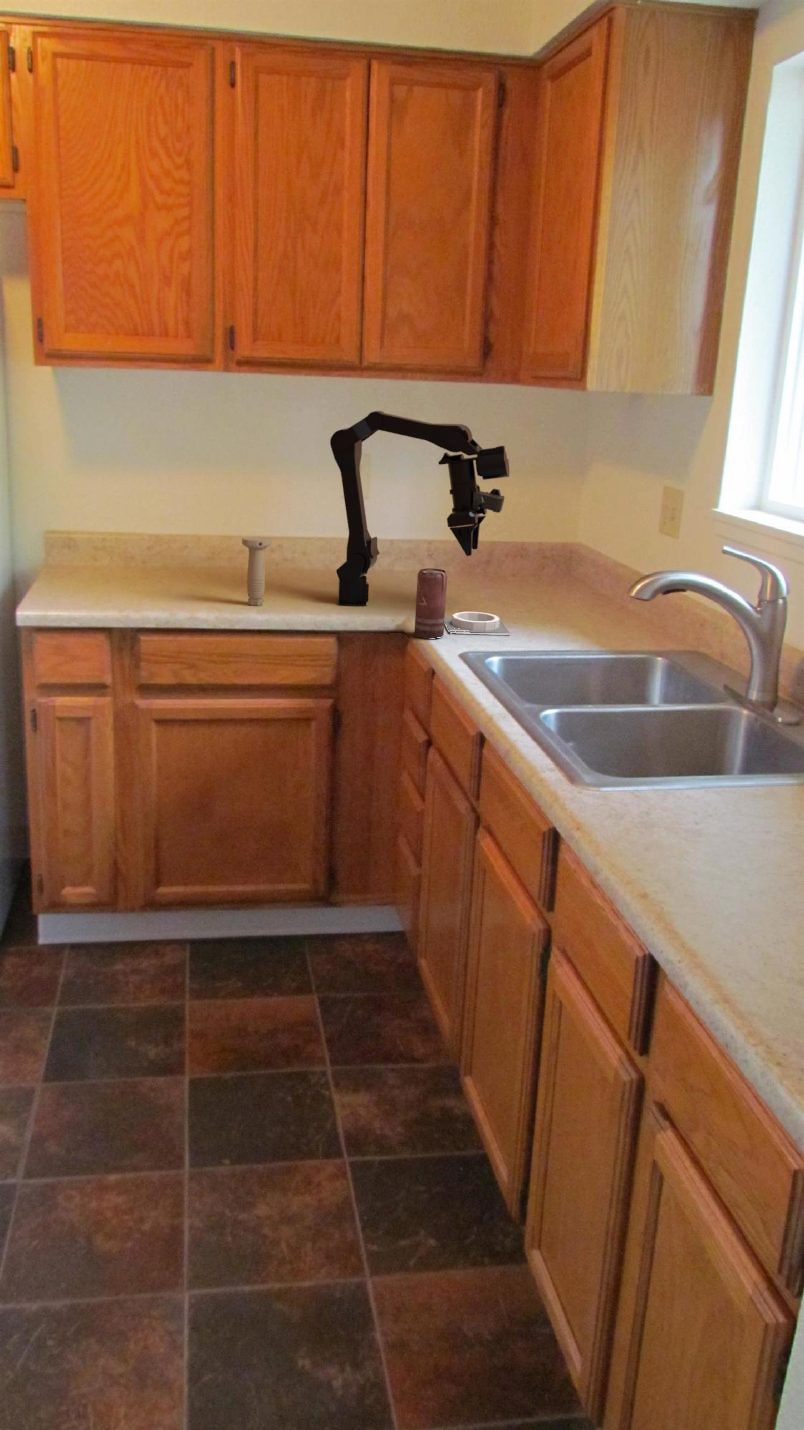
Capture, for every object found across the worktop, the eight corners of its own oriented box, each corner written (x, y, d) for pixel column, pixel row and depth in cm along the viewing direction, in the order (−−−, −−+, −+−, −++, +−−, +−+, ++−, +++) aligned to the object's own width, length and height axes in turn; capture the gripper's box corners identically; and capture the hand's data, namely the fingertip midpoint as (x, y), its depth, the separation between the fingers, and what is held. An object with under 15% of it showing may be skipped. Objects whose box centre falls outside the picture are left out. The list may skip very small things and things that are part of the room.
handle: (272, 606, 273) (274, 540, 268) (245, 607, 270) (246, 541, 265) (265, 601, 277) (266, 536, 272) (238, 603, 274) (239, 537, 269)
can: (435, 641, 249) (439, 574, 245) (408, 636, 252) (412, 570, 248) (449, 636, 254) (454, 570, 250) (423, 631, 257) (427, 566, 253)
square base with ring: (449, 634, 256) (449, 623, 255) (442, 619, 268) (442, 609, 268) (509, 635, 257) (510, 624, 257) (499, 621, 270) (500, 611, 269)
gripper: (493, 482, 256) (502, 555, 260) (504, 473, 274) (512, 542, 278) (442, 489, 259) (451, 561, 263) (456, 479, 276) (465, 547, 281)
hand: (472, 552), depth 271 cm, fingers open, 9 cm apart
